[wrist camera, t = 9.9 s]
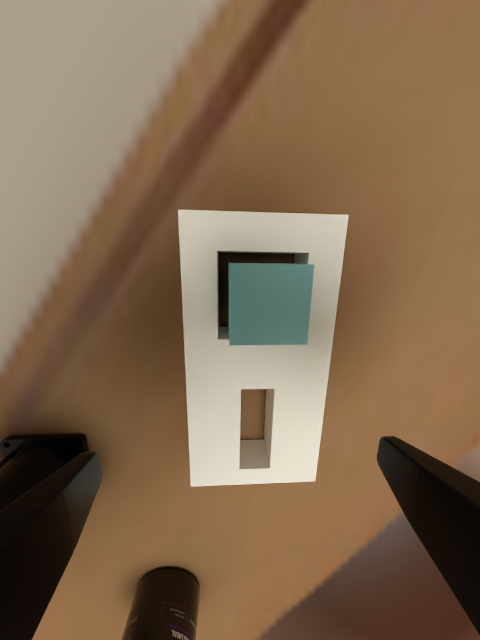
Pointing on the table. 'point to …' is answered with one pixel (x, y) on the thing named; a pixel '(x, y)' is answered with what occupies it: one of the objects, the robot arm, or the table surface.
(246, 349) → the socket plate
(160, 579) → the supplement bottle
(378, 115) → the table surface
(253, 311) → the square peg
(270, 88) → the table surface
